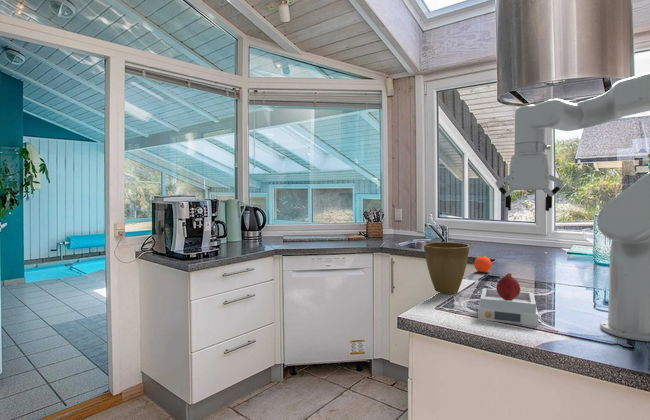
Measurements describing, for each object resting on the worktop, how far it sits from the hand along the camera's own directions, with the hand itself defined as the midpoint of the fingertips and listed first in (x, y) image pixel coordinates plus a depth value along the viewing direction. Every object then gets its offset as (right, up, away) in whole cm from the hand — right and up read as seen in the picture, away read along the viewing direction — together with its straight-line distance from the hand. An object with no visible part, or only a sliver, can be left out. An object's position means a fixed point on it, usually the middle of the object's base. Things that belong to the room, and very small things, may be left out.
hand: (527, 210), depth 113 cm
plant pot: (-17, -28, +22) cm, 39 cm away
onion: (-8, -25, -5) cm, 27 cm away
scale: (-8, -29, -5) cm, 30 cm away
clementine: (+9, -27, +55) cm, 62 cm away
